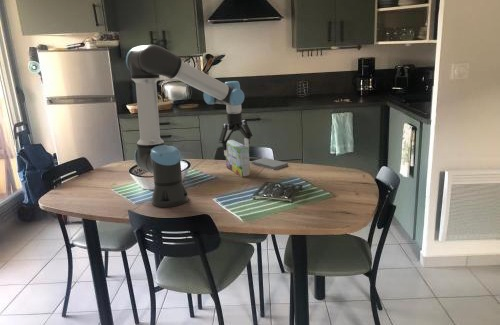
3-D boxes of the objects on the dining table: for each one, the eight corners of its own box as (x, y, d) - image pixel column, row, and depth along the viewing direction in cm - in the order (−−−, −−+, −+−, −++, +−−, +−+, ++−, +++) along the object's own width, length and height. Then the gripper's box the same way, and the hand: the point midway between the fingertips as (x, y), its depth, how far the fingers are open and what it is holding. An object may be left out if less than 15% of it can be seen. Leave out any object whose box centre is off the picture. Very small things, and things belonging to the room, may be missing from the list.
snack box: (225, 167, 218) (223, 140, 214) (234, 166, 220) (233, 139, 217) (241, 177, 200) (239, 148, 196) (251, 175, 202) (249, 146, 198)
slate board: (287, 165, 215) (287, 163, 215) (274, 169, 209) (274, 167, 209) (265, 160, 229) (264, 157, 228) (251, 164, 222) (251, 161, 222)
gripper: (248, 108, 212) (250, 147, 218) (209, 115, 197) (213, 157, 203) (257, 109, 207) (259, 149, 212) (218, 116, 191) (222, 159, 197)
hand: (237, 153), depth 208 cm, fingers open, 13 cm apart
